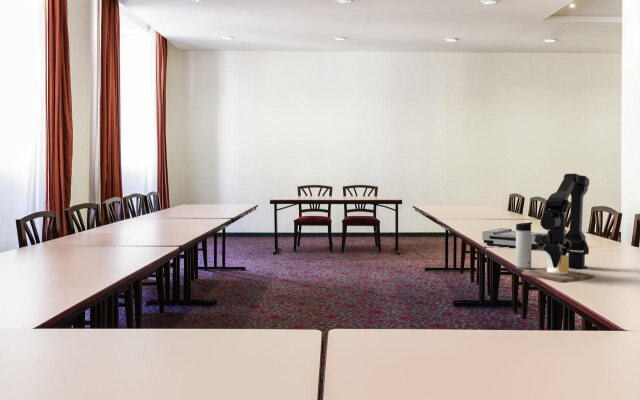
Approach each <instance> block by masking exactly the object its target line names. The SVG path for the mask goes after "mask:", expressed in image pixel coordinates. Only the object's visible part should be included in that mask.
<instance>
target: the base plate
mask: <svg viewBox="0 0 640 400" xmlns="http://www.w3.org/2000/svg"><path fill="white" fill-rule="evenodd" d="M521 275H524V276H529V277H534V278H539V279H544V280H547V281H552V282H557V283H562V284H563V283H567V282H574V281H582V280H588V279H595V277H596V276H595V274H590V273H584V272H581V271H575V270H570V269H569V271H568V274H566V275H553V274H548V273H547V268H541V269H540V268H539V269H530V270H524V271H521Z"/></svg>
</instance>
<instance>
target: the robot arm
mask: <svg viewBox="0 0 640 400" xmlns="http://www.w3.org/2000/svg"><path fill="white" fill-rule="evenodd" d="M589 186H590V178H588V176H586V175H581V174H578V173H565V174H564V175H563V178H562V181H561V183H560V184H559V186H558V188H557V189H556V192H553V193H551V194H550V195H549V197H548V199H547V200H546V201H545V205H544V210H543V214H544V216H542V217H541V219H540V222H539V223H540V226H541V227H542V229H543V230H546V231H547V233H546V235H543V236H542V235H541V234H539V235H536V236H535V238H534V239H535V240H534V242H536V244H537V245H540V244H543V243H546V242H547V243H546V244H545V245H544V246H543V247H542V251H543V252H545V253H546V254H549V255H550V257H551V260H552V263H553V267H554V268H557V266H558V263H559V261H560V258H561V255H567V254H568V255H567V256H569V269H570V268H571V269H574V270H575V269H576V270H579V269H588V268H589V267H588V266H586V265H585V262H586V261H585V260H586V259H585V256H586V255H589V254H590V253H589V252H590V248H589V245H588V242H587V240H586V236H585V234H584V231H583V229H582V227H583V209H584V207H583V206H584V196H585V195H586V194H587V192H588V191H589V190H588V189H589ZM569 197H571V198H570V202H569ZM569 207H570V219H569V230H568V231H567V229H566V216H567V215H566V214H567V213H568V210H569Z"/></svg>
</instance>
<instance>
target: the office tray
mask: <svg viewBox="0 0 640 400" xmlns="http://www.w3.org/2000/svg"><path fill="white" fill-rule="evenodd" d="M539 234H541V235H542V236H543V235H546V234H547V233H545V232H544V233H542V232H532V231H531V250H534V249H533V248H542V247H541V246H544V245H545V244H546V243H547V242H546V243H543V244H540V245H537V244H536V242H534V240H535V239H534V238H535V236H536V235H539ZM481 236H482V240H483V244H486V246H487V245H488V246H487V247H494V246H498V248H504V247H509V248H508V249H515V248H516V230H512V228H501V227H500V228H494V229H490V230H489V229H488V230H483V231H481ZM482 240H481V241H482ZM538 246H540V247H538Z"/></svg>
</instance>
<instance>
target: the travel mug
mask: <svg viewBox="0 0 640 400" xmlns="http://www.w3.org/2000/svg"><path fill="white" fill-rule="evenodd" d="M532 225H533V222H532V221H529V222H521V223H516V225H515V231H516V249H515V269H517V270H524V271H529V270H532V249H531V232H532Z"/></svg>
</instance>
